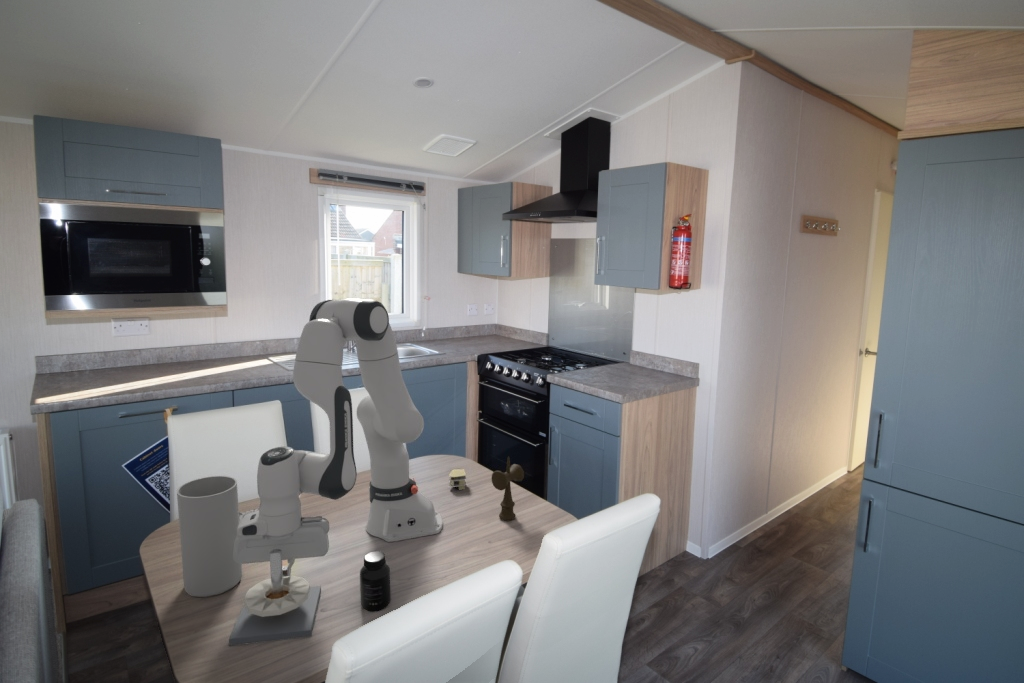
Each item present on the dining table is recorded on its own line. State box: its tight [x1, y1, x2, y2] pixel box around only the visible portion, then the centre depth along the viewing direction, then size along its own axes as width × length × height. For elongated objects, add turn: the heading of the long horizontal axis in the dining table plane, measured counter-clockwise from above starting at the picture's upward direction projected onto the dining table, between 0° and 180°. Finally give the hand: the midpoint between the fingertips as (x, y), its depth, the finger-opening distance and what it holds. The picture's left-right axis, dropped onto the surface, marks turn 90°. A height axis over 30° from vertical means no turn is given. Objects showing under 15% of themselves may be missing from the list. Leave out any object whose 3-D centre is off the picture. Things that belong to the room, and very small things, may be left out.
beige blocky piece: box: [448, 468, 467, 491], centre depth 193 cm, size 10×9×6 cm
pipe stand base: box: [228, 585, 322, 646], centre depth 122 cm, size 16×16×2 cm
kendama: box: [491, 456, 525, 521], centre depth 169 cm, size 6×10×20 cm, turn 140°
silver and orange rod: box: [266, 549, 289, 599], centre depth 121 cm, size 6×6×14 cm
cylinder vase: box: [176, 475, 243, 598], centre depth 132 cm, size 12×12×25 cm
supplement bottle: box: [359, 550, 392, 613], centre depth 127 cm, size 7×7×12 cm
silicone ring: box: [243, 574, 311, 617], centre depth 121 cm, size 13×13×1 cm
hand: (283, 575), depth 127 cm, fingers closed
